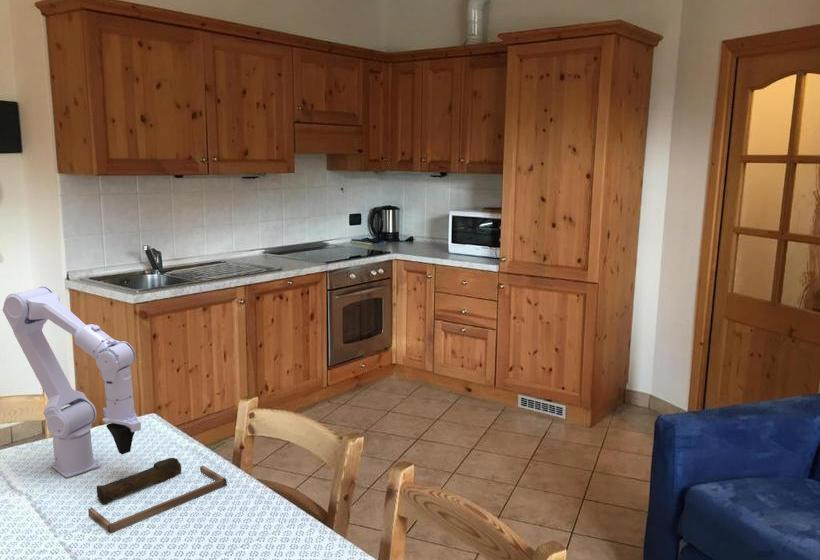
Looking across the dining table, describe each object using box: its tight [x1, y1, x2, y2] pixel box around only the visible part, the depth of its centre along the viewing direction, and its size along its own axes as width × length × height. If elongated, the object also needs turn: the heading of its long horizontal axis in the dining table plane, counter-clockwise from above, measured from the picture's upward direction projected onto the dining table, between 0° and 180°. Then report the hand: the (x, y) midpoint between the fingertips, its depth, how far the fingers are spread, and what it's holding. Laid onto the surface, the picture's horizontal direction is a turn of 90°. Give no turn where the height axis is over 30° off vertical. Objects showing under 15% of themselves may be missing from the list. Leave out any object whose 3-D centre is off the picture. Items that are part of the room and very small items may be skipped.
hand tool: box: [96, 457, 182, 505], centre depth 153 cm, size 19×4×5 cm, turn 135°
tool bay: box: [88, 465, 228, 534], centre depth 147 cm, size 10×27×2 cm, turn 138°
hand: (124, 452), depth 157 cm, fingers closed
